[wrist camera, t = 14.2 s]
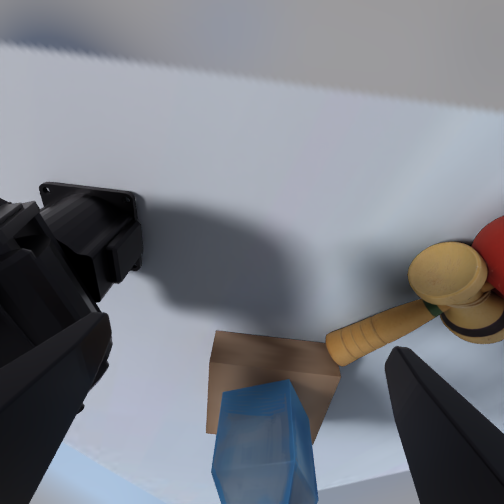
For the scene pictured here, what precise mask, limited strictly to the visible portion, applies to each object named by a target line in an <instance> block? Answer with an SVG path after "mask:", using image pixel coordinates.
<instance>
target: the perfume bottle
mask: <svg viewBox="0 0 504 504" xmlns="http://www.w3.org/2000/svg"><path fill="white" fill-rule="evenodd" d="M211 473H212V476H213V479H214V482H215V486H216V489H217V492H218V495H219V498H220V501H221V504H317V502H318V492H317V483H316V475H315V466H314V458H313V449H312V441H311V432H310V424H309V418H308V416H307V414H306V412H305V410H304V408H303V406H302V404H301V402H300V400H299V398H298V396H297V394H296V392H295V390H294V388H293V386H292V384H291V382H290V379H287V380H282V381H276V382H271V383H266V384H261V385H256V386H251V387H246V388H241V389H236V390H231V391H226V392H223V394H222V401H221V408H220V414H219V421H218V428H217V435H216V442H215V449H214V455H213V462H212V469H211Z"/></svg>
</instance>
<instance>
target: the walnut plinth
mask: <svg viewBox="0 0 504 504" xmlns="http://www.w3.org/2000/svg"><path fill="white" fill-rule="evenodd" d="M340 378H341V375H340V370H339V366H338V364H337V363H336V362H335V361H334V360H333V359H332V357H331V356H330V354H329V352H328V349H327V346H326V343H319V342H311V341H302V340H293V339H284V338H276V337H267V336H258V335H249V334H241V333H232V332H223V331H216V333H215V338H214V343H213V347H212V352H211V357H210V362H209V381H208V402H207V422H206V433H208V434H217V428H218V421H219V414H220V408H221V401H222V394H223V392H226V391H231V390H236V389H241V388H246V387H251V386H256V385H261V384H266V383H271V382H276V381H282V380H287V379H290V382H291V384H292V386H293V388H294V390H295V392H296V394H297V396H298V398H299V400H300V402H301V404H302V406H303V408H304V410H305V412H306V414H307V416H308V418H309V424H310V432H311V441H312V445H313V443H314V441H315V439H316V436H317V434H318V431H319V429H320V427H321V424H322V422H323V419H324V417H325V414H326V412H327V410H328V407H329V405H330V402H331V400H332V398H333V395H334V393H335V390H336V388H337V385H338V383H339V381H340Z"/></svg>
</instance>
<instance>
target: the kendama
mask: <svg viewBox="0 0 504 504" xmlns="http://www.w3.org/2000/svg"><path fill="white" fill-rule="evenodd" d="M407 275H408V280H409V284H410V286H411V287H412V289H413V290H414V291H415V293H416V294H417V295H418V296H419V297H420V298H421V299H419V300H416V301H412V302H409V303H406V304H403V305H400V306H397V307H394V308H391V309H389V310H386V311H384V312H381V313H379V314H376V315H374V316H373V317H369V318H367V319H364V320H362V321H359V322H357V323H355V324H353V325H349V326H347V327H345V328H342V329H339V330H336V331H333V332H331V333H329V334H327V335H326V346H327V349H328V352H329V354H330V356H331V357H332V359H333V360H334V361H335V362H336V363H337V364H338V365H340V366H346V365H348V364H350V363H351V362H353V361H355V360H357V359H358V358H360V357H363V356H365V355H367V354H368V353H370V352H372V351H374V350H376V349H378V348H381V347H383V346H385V345H386V344H387V343H391V342H393V341H395V340H397V339H399V338H401V337H403V336H405V335H406V334H408V333H410V332H412V331H414V330H415V329H417V328H419V327H420V326H422V325H424V324H425V323H427V322H429V321H430V320H432V319H433V318H435V317H437V316H438V315H440V318H441V320H442V322H443V323H444V325H445V326H446V327H447V328H448V329H449V330H450V331H451V332H453V333H454V334H455V335H456V336H458V337H459V338H461V339H463V340H465V341H468V342H471V343H477V344H490V343H495V342H499V341H502V340H503V339H504V216H502V217H499V218H497V219H495V220H494V221H492V222H491V223H489V224H488V225H486V226H485V227H484V228H483V229H482V230H481V231H480V232H479V233H478V235H477V236H476V238H475V239H474V241H473V243H472V246H471V247H470V246H468V245H466V244H463V243H458V242H443V243H438V244H435V245H432V246H430V247H428V248H427V249H425V250H423V251H422V252H421V253H419V254H418V255H417V256H416V257H415V259H414V260H413V261H412V263H411V265H410V267H409V270H408V274H407Z"/></svg>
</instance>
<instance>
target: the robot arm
mask: <svg viewBox="0 0 504 504" xmlns="http://www.w3.org/2000/svg"><path fill="white" fill-rule="evenodd" d="M47 188H48V189H49V190H50V192H49V191H48V190H47ZM39 191H40V194H41V198H42V202H43V205H44V207H43V208H41V209H39V207H38V205H37V204H36V202H35V201H31V202H27V203H14V204H12V203H11V202H7V201H5V200H3V199H1V198H0V504H29V503H30V501H31V499H32V497H33V495H34V493H35V491H36V490H37V488H38V486H39V484H40V482H41V480H42V478H43V476H44V474H45V473H46V471H47V469H48V467H49V465H50V463H51V461H52V459H53V458H54V456H55V454H56V452H57V450H58V448H59V446H60V444H61V442H62V441H63V439H64V437H65V435H66V433H67V431H68V429H69V428H70V426H71V424H72V422H73V420H74V418H75V416H76V414H78V413H80V412H81V411H82V410H83V409H84V404H83V401H84V399H85V397H86V396H87V394H88V392H89V391H90V390H91V389H92V388H93V387H94V386H95V385H96V384H97V383H98V382H99V380H100V379H101V378H102V376H103V375H104V373H105V372H106V370H107V369H108V367H109V363H108V361H107V359H108V357H109V354H110V351H111V348H112V345H113V344H112V336H111V335H112V331H111V326H110V320H109V316H108V314H107V313H102V312H101V311H100V309H99V307H98V306H97V304H96V303H95V302H100V301H101V300H102V298H103V297H104V296H105V294H106V293H107V292H108V290H109V289H110V288H111V286H112V285H113V284H114V283H116V284H119V283H120V282H122V281H123V279H124V278H125V277H126V275H127V274H128V272H129V271H130V270H132V271H137V270H139V269H140V267H141V266H142V260H141V254H142V253H143V242H142V232H141V224H140V222H139V221H138V220H137V211H136V202H135V197H134V195H133V194H132V193H131V192H128V191H120V190H112V189H104V188H95V187H87V186H79V185H70V184H62V183H54V182H45V183H43V184H41V185H40V186H39ZM125 197H128V198H129V200H130V201H129V202H128V201H126V200H125ZM134 264H136V265H137V266H136V265H134ZM385 374H386V379H387V384H388V389H389V394H390V399H391V404H392V409H393V414H394V418H395V422H396V426H397V429H398V432H399V436H400V439H401V442H402V446H403V449H404V452H405V455H406V459H407V462H408V465H409V469H410V472H411V475H412V478H413V481H414V484H415V488H416V491H417V495H418V498H419V501H420V504H504V434H503V433H502V432H501V431H500V430H499V429H498V428H497V427H496V426H495V425H493V424H492V423H491V422H490V421H489V420H488V419H487V418H486V417H485V416H484V415H482V414H481V413H480V412H479V411H478V410H477V409H476V408H475V407H474V406H473V405H471V404H470V403H469V402H468V401H467V400H466V399H465V398H464V397H463V396H462V395H460V394H459V393H458V392H457V391H456V390H455V389H454V388H453V387H452V386H450V385H449V384H448V383H447V382H446V381H445V380H444V379H443V378H442V377H441V376H439V375H438V374H437V373H436V372H435V371H434V370H433V369H432V368H431V367H430V366H428V365H427V364H426V363H425V362H424V361H423V360H422V359H421V358H420V357H419V356H417V355H416V354H415V353H414V352H413V351H412V350H411V349H409V348H407V347H399V346H395V347H394V348H393V349H392V351H391V353H390V355H389V357H388V359H387V361H386V363H385Z"/></svg>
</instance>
